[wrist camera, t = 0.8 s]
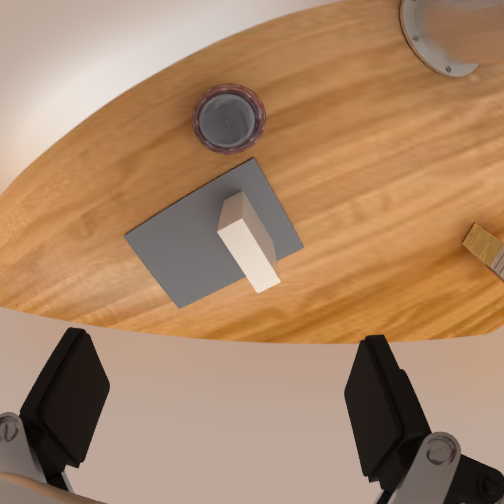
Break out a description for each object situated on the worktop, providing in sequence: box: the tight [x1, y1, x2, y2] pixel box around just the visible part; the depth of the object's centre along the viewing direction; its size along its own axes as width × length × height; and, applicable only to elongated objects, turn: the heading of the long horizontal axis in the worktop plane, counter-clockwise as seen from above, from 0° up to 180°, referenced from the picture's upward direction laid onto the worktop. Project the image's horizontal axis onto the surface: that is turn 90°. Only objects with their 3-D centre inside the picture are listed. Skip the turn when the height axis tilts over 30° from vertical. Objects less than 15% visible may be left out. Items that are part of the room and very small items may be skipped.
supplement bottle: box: [192, 84, 266, 154], centre depth 25 cm, size 6×6×11 cm
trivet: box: [124, 158, 304, 309], centre depth 36 cm, size 18×12×1 cm, turn 119°
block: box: [217, 190, 281, 293], centre depth 31 cm, size 2×7×9 cm, turn 29°
